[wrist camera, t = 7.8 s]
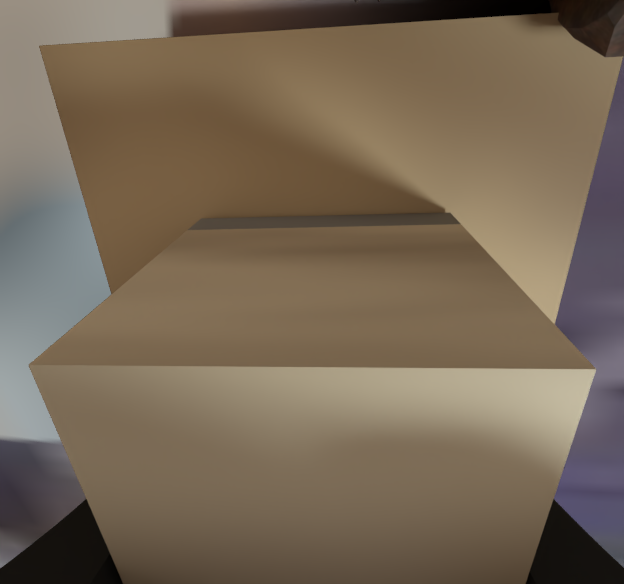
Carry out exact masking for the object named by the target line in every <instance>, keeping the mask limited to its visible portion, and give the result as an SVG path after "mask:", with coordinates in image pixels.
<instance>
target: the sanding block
mask: <svg viewBox="0 0 624 584" xmlns="http://www.w3.org/2000/svg"><path fill="white" fill-rule="evenodd" d="M29 368H30V370H31V372H32V374H33V377H34V379H35V381H36V384H37V386H38V388H39V391H40V393H41V395H42V398H43V400H44V402H45V404H46V407H47V409H48V411H49V414H50V416H51V418H52V421H53V423H54V425H55V428H56V430H57V432H58V434H59V437H60V439H61V441H62V444H63V446H64V448H65V451H66V453H67V455H68V457H69V460H70V462H71V464H72V467H73V469H74V471H75V474H76V476H77V478H78V481H79V483H80V485H81V487H82V490H83V492H84V494H85V497H86V499H87V501H88V504H89V506H90V508H91V510H92V513H93V515H94V517H95V520H96V522H97V524H98V527H99V529H100V531H101V534H102V536H103V538H104V540H105V543H106V545H107V547H108V550H109V552H110V554H111V557H112V559H113V561H114V564H115V566H116V568H117V570H118V573H119V575H120V577H121V580H122V582H123V584H526V581H527V578H528V575H529V572H530V568H531V565H532V562H533V559H534V556H535V553H536V550H537V547H538V544H539V541H540V538H541V535H542V532H543V529H544V526H545V523H546V520H547V517H548V514H549V511H550V508H551V505H552V502H553V499H554V496H555V493H556V490H557V487H558V484H559V481H560V478H561V475H562V472H563V469H564V466H565V463H566V459H567V456H568V453H569V450H570V447H571V444H572V441H573V438H574V435H575V432H576V429H577V426H578V423H579V420H580V417H581V414H582V411H583V408H584V405H585V402H586V399H587V396H588V393H589V390H590V387H591V384H592V381H593V378H594V375H595V372H596V369H595V367H594V366H593V365H592V364H591V363H590V362H589V361H588V360H587V359H586V358H585V357H584V356H583V355H582V353H581V352H580V351H579V350H578V349H577V348H576V347H575V346H574V345H573V344H572V343H571V342H570V341H569V340H568V338H567V337H566V336H565V335H564V334H563V333H562V332H561V331H560V330H559V329H558V328H557V327H556V326H555V324H554V323H553V322H552V321H551V320H550V319H549V318H548V317H547V316H546V315H545V314H544V313H543V312H542V311H541V309H540V308H539V307H538V306H537V305H536V304H535V303H534V302H533V301H532V300H531V299H530V298H529V297H528V295H527V294H526V293H525V292H524V291H523V290H522V289H521V288H520V287H519V286H518V285H517V284H516V283H515V282H514V280H513V279H512V278H511V277H510V276H509V275H508V274H507V273H506V272H505V271H504V270H503V269H502V268H501V266H500V265H499V264H498V263H497V262H496V261H495V260H494V259H493V258H492V257H491V256H490V255H489V254H488V253H487V251H486V250H485V249H484V248H483V247H482V246H481V245H480V244H479V243H478V242H477V241H476V240H475V239H474V237H473V236H472V235H471V234H470V233H469V232H468V231H467V230H466V229H465V228H464V227H463V226H462V225H461V224H460V222H459V221H458V220H457V219H456V218H455V217H454V216H453V215H452V214H451V213H408V214H367V215H325V216H284V217H242V218H201V219H200V220H199V221H198V222H196V223H195V224H194V225H193V226H192V227H190V228H189V229H188V230H187V231H186V232H185V233H183V234H182V235H181V236H180V237H179V238H178V239H176V240H175V241H174V242H173V243H172V244H170V245H169V246H168V247H167V248H166V249H165V250H163V251H162V252H161V253H160V254H159V255H157V256H156V257H155V258H154V259H153V260H152V261H150V262H149V263H148V264H147V265H146V266H145V267H143V268H142V269H141V270H140V271H139V272H137V273H136V274H135V275H134V276H133V277H132V278H130V279H129V280H128V281H127V282H126V283H124V284H123V285H122V286H121V287H120V288H119V289H117V290H116V291H115V292H114V293H113V294H112V295H110V296H109V297H108V298H107V299H106V300H104V302H102V303H101V304H100V305H99V306H97V307H96V308H95V309H94V310H93V311H91V312H90V313H89V314H88V315H87V316H86V317H84V318H83V319H82V320H81V321H80V322H79V323H77V324H76V325H75V326H74V327H73V328H71V330H69V331H68V332H67V333H66V334H64V335H63V336H62V337H61V338H60V339H59V340H57V341H56V342H55V343H54V344H53V345H51V346H50V347H49V348H48V349H47V350H46V351H44V352H43V353H42V354H41V355H40V356H38V357H37V358H36V359H35V360H34V361H33V362H31V363H30V364H29Z"/></svg>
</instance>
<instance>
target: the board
mask: <svg viewBox="0 0 624 584" xmlns="http://www.w3.org/2000/svg"><path fill="white" fill-rule="evenodd" d="M558 15H559V13H545V14H530V15H514V16H498V17H483V18H467V19H451V20H436V21H420V22H404V23H388V24H373V25H357V26H341V27H326V28H310V29H294V30H279V31H263V32H247V33H231V34H216V35H200V36H184V37H169V38H153V39H137V40H123V41H106V42H90V43H75V44H59V45H43V46H39V48H40V51H41V54H42V58H43V61H44V64H45V68H46V71H47V75H48V78H49V82H50V85H51V89H52V92H53V95H54V99H55V102H56V106H57V109H58V112H59V116H60V119H61V123H62V126H63V130H64V133H65V136H66V140H67V143H68V146H69V150H70V154H71V157H72V160H73V164H74V167H75V170H76V174H77V177H78V181H79V184H80V188H81V191H82V195H83V198H84V201H85V205H86V208H87V212H88V215H89V219H90V222H91V226H92V229H93V232H94V236H95V239H96V243H97V246H98V249H99V253H100V256H101V259H102V263H103V266H104V270H105V273H106V276H107V280H108V284H109V287H110V291H111V294H113V293H114V292H115V291H116V290H117V289H119V288H120V287H121V286H122V285H123V284H124V283H126V282H127V281H128V280H129V279H130V278H132V277H133V276H134V275H135V274H136V273H137V272H139V271H140V270H141V269H142V268H143V267H145V266H146V265H147V264H148V263H149V262H150V261H152V260H153V259H154V258H155V257H156V256H157V255H159V254H160V253H161V252H162V251H163V250H165V249H166V248H167V247H168V246H169V245H170V244H172V243H173V242H174V241H175V240H176V239H178V238H179V237H180V236H181V235H182V234H183V233H185V232H186V231H187V230H188V229H189V228H190V227H192V226H193V225H194V224H195V223H196V222H198V221H199V220H200V219H201V218H242V217H284V216H325V215H367V214H408V213H451V214H452V215H453V216H454V217H455V218H456V219H457V220H458V221H459V222H460V224H461V225H462V226H463V227H464V228H465V229H466V230H467V231H468V232H469V233H470V234H471V235H472V236H473V237H474V239H475V240H476V241H477V242H478V243H479V244H480V245H481V246H482V247H483V248H484V249H485V250H486V251H487V253H488V254H489V255H490V256H491V257H492V258H493V259H494V260H495V261H496V262H497V263H498V264H499V265H500V266H501V268H502V269H503V270H504V271H505V272H506V273H507V274H508V275H509V276H510V277H511V278H512V279H513V280H514V282H515V283H516V284H517V285H518V286H519V287H520V288H521V289H522V290H523V291H524V292H525V293H526V294H527V295H528V297H529V298H530V299H531V300H532V301H533V302H534V303H535V304H536V305H537V306H538V307H539V308H540V309H541V311H542V312H543V313H544V314H545V315H546V316H547V317H548V318H549V319H550V320H551V321H552V322H553V323H554V324H555V321H556V317H557V313H558V309H559V305H560V301H561V297H562V293H563V289H564V285H565V281H566V278H567V274H568V270H569V266H570V262H571V258H572V254H573V250H574V246H575V242H576V239H577V235H578V231H579V227H580V223H581V219H582V215H583V211H584V207H585V203H586V199H587V196H588V192H589V188H590V184H591V180H592V176H593V172H594V168H595V164H596V160H597V157H598V153H599V149H600V145H601V141H602V137H603V133H604V129H605V125H606V121H607V117H608V114H609V110H610V106H611V102H612V98H613V94H614V90H615V86H616V82H617V78H618V74H619V71H620V67H621V63H622V59H623V56H622V57H604V56H602V55H600V54H599V53H597V52H596V51H594V50H592V49H591V48H589V47H587V46H586V45H584V44H582V43H581V42H579V41H578V40H576V39H574V38H573V37H572V36H571V34H570V33H569V32H568V31H567V30H566V29H565V28H564V27H563V26H562V25H561V24H560V22H559V21H558Z"/></svg>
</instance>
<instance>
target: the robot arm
mask: <svg viewBox="0 0 624 584" xmlns="http://www.w3.org/2000/svg"><path fill="white" fill-rule="evenodd" d="M0 584H123V582H122V580H121V577H120V575H119V573H118V570H117V568H116V566H115V564H114V561H113V559H112V557H111V554H110V552H109V550H108V547H107V545H106V543H105V540H104V538H103V536H102V534H101V531H100V529H99V527H98V524H97V522H96V520H95V517H94V515H93V513H92V510H91V508H90V506H89V504H88V501H87V499H86V500H85V501H83V502H82V503H81V504H80V505H79V506H78V507H77V508H76V509H74V510H73V511H72V512H71V513H70V514H69V515H67V516H66V517H65V518H64V519H63V520H61V521H60V522H59V523H58V524H57V525H55V526H54V527H53V528H52V529H50V530H49V531H48V532H47V533H46V534H44V535H43V536H42V537H41V538H39V539H38V540H37V541H35V542H34V543H33V544H32V545H30V546H29V547H28V548H26V549H25V550H24V551H23V552H21V553H20V554H19V555H18V556H16V557H15V558H14V559H12V560H11V561H10V562H8V563H7V564H6V565H4V566H3V567H2V568H1V569H0ZM526 584H624V568H623V567H622V566H621V565H620V564H619V563H618V562H617V561H616V560H615V559H614V558H613V557H612V556H611V555H609V554H608V553H607V552H606V551H605V550H604V549H603V548H602V547H601V546H600V545H599V544H598V543H597V542H596V541H595V540H594V539H593V538H592V537H591V536H590V535H589V534H588V533H587V532H586V531H585V530H584V529H583V528H582V527H581V526H580V525H579V524H578V523H577V522H576V521H575V520H574V519H573V518H572V517H571V516H570V515H569V514H568V513H567V512H566V511H565V510H564V509H563V508H562V507H561V506H560V505H559V504H558V503H557V502H556V501H555V500H554V499H553V502H552V505H551V508H550V511H549V514H548V517H547V520H546V523H545V526H544V529H543V532H542V535H541V538H540V541H539V544H538V547H537V550H536V553H535V556H534V559H533V562H532V565H531V568H530V572H529V575H528V578H527V581H526Z"/></svg>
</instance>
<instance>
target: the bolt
mask: <svg viewBox="0 0 624 584" xmlns="http://www.w3.org/2000/svg"><path fill="white" fill-rule="evenodd" d="M358 1H359V0H355V2H356V3H357V2H358ZM378 1H380V0H378ZM549 4H550V8H551V12H552V13H559V15H558V21H559V22H560V24H561V25H562V26H563V27H564V28H565V29H566V30H567V31H568V32H569V33H570V34H571V36H572V37H573V38H574V39H576V40H578V41H579V42H581V43H582V44H584V45H586V46H587V47H589V48H591V49H592V50H594V51H596V52H597V53H599V54H600V55H602V56H604V57H622V56H624V0H549Z"/></svg>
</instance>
